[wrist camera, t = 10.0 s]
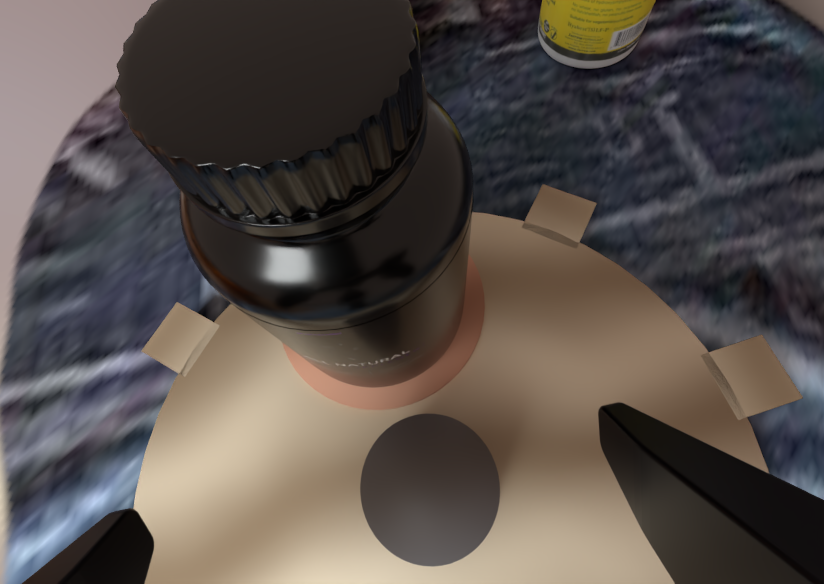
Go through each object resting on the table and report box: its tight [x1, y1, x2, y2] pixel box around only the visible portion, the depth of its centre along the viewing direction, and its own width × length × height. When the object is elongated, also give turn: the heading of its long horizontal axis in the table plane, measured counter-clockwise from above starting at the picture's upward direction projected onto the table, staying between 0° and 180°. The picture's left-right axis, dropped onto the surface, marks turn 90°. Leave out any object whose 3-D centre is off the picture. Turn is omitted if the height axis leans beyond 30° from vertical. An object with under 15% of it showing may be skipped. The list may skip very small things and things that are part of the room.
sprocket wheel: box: [134, 184, 803, 584], centre depth 15 cm, size 26×26×4 cm
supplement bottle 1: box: [115, 0, 473, 388], centre depth 12 cm, size 7×7×12 cm
